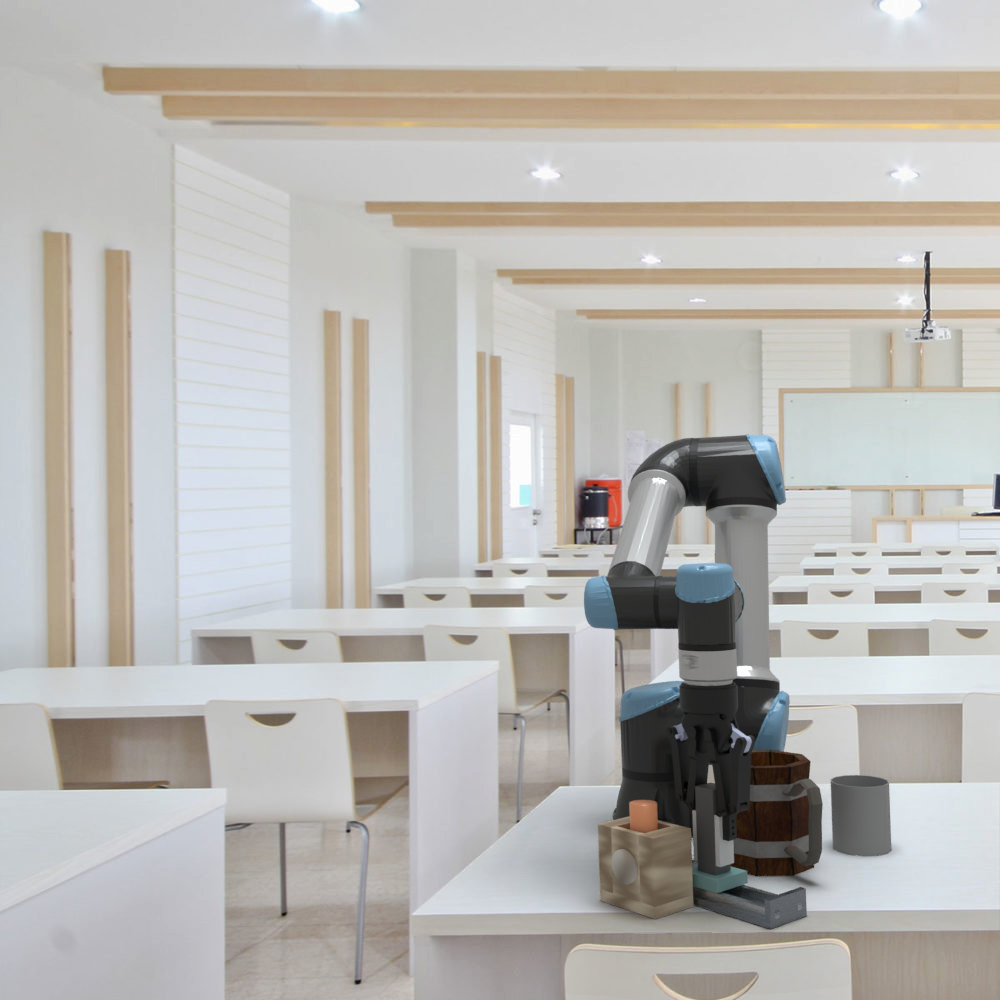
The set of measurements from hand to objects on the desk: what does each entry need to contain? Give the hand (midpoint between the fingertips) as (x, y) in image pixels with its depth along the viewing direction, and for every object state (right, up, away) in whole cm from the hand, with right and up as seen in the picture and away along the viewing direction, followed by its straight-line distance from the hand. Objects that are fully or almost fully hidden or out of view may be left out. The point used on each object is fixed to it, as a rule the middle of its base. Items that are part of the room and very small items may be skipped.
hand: (713, 861), depth 153 cm
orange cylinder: (-9, 0, -1) cm, 9 cm away
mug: (+12, -5, +13) cm, 18 cm away
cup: (+26, -5, +22) cm, 34 cm away
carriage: (0, -3, 0) cm, 3 cm away
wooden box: (-9, -5, -1) cm, 10 cm away
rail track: (+2, -5, -2) cm, 6 cm away
